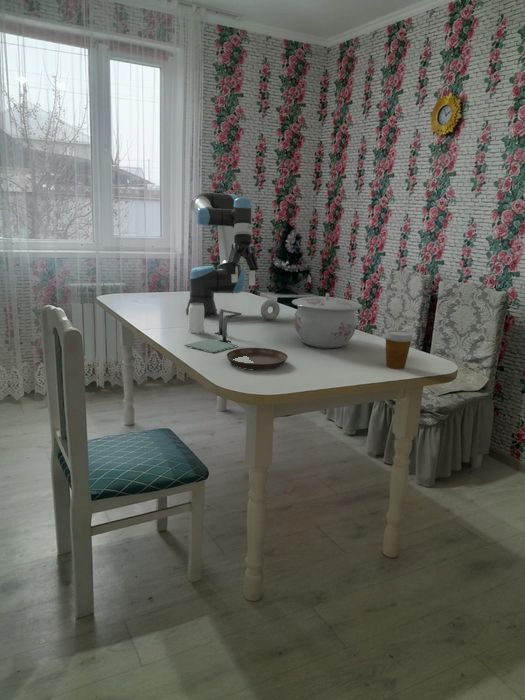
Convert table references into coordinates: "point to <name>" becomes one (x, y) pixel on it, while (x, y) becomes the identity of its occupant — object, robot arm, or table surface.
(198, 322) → the can
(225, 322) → the dark grey angled piece
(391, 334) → the disposable coffee cup
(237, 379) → the table surface
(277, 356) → the plant saucer
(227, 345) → the mat
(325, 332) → the chamber pot
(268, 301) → the donut
